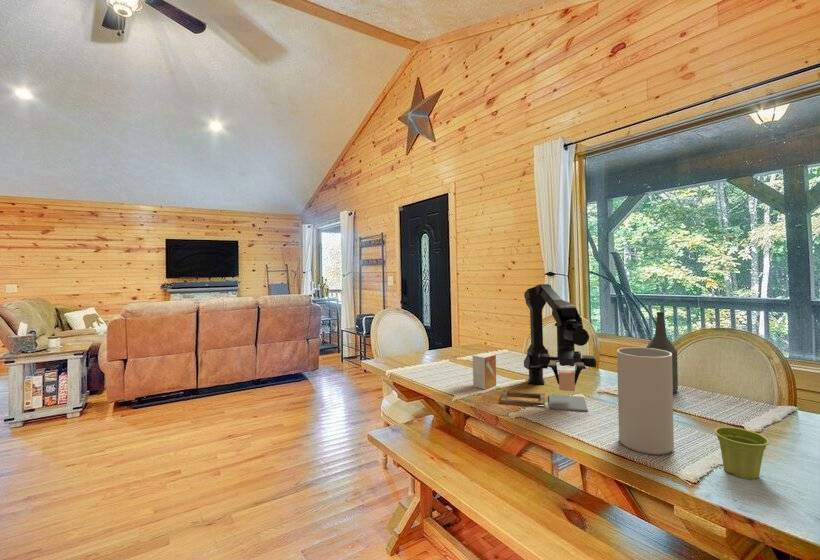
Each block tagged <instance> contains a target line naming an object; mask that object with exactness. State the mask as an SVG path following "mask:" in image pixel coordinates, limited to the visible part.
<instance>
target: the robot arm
mask: <svg viewBox="0 0 820 560" xmlns="http://www.w3.org/2000/svg"><path fill="white" fill-rule="evenodd" d="M523 296H524V299H525V305H526V306H527V307H528V309H529V315H530V316H529V319H530V320H529V321H530V345H529V347H528V349H526V356H525V358H524V360H523V367H524V368H525V369H526V370H528V379H527V384H528V385H542V386H543V385H545V379H544V369H548V368H551V369H552V373H553V374H554V376H555V379H556V381H557V385H559V369H558V366H557V363H559V366H562V367H564V366H565V367H566V366H567V367H568V366H569V367H574V374H575V386H576V385H577V382H578V379H579V376H580V374H581V372H582V370H586V368H587V367H588V368H596V367H597V360H596V357H595V356H593V355H585V354H583V355H582V354H581V352H582V351H580V350H578V351H577V350H576V351H575V345H576V346H579V347H582V346H585V345H586V344H588V342H589V341H590V335H589V333H588V331H587V330H586V329H584V325H583V319H582V316H580V314H579V311H578V309H577V307H576V306H575V305H574V304H573V303H572V302H570V301H566V300H563V299H562V298H561V297H560V295H559V294H557V292H556V291H555V290H554V289H553V288H552V285H551V284H550V283H543V284H542V283H541V284H540V283H539V284H536V285H535V286H533V287H530V288H527V289H526V290H525V292H524V293H523ZM546 305H548V306H549V307H550V308H551V310H552V312H551V316H552V318H554V321H555V323H554V326H555V327H556V345H557V346H556V347H557V348H556V352H557V353H556V354H557V356H550V355H551V354H550V353H549V350H548V349H547V348H546V347H545V345H544V333H543V332H544V331H543V329H544V328H543V309H544V307H545V306H546Z"/></svg>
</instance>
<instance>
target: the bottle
mask: <svg viewBox="0 0 820 560" xmlns="http://www.w3.org/2000/svg"><path fill="white" fill-rule="evenodd" d="M664 314H665V312H664V311H656V321H655V330H654V331H655V332H654V336H653V337H652V339H651V340H650V341H649V343H648V345H647V346H646V347H645V348H652V349H659V350H664V351H668V352H670V353H672V378H673V392H674V393H676V392H677V391H678V389H679V382H678V381H679V378H678V376H679V374H678V370H679V369H678V350H677V349H676V347H675V346H674V344H673V343H672V342H671V340H670V339H669V338H668V336H667V330H666V323H665V316H664Z"/></svg>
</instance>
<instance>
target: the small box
mask: <svg viewBox="0 0 820 560" xmlns="http://www.w3.org/2000/svg"><path fill="white" fill-rule="evenodd" d="M496 358H497V357H496V354H494V353H488V352H481V353H478V354H474V355H472V386H473V388H477V387H478V388H477V389H481V388H482V390H487V388H488V389H489V387H490V388H492V386H493V387H495V386H494V385H496V386H497V359H496Z"/></svg>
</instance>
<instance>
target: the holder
mask: <svg viewBox="0 0 820 560" xmlns="http://www.w3.org/2000/svg"><path fill="white" fill-rule="evenodd" d="M509 396H510V397H511V396H512V397H523V398H524V397H525V398H537V399H540V400H539V401H535V400H523V399H511V398H508V397H509ZM500 404H505V405H518V406H529V407H530V406H531V407H534V406H533V405H544V406H545V407H546V394H545V393H540V392H539V393H538V392H525V391H524V392H523V391H511V390H509V391H508V390H503V392H502V394H501V398H500Z"/></svg>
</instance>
